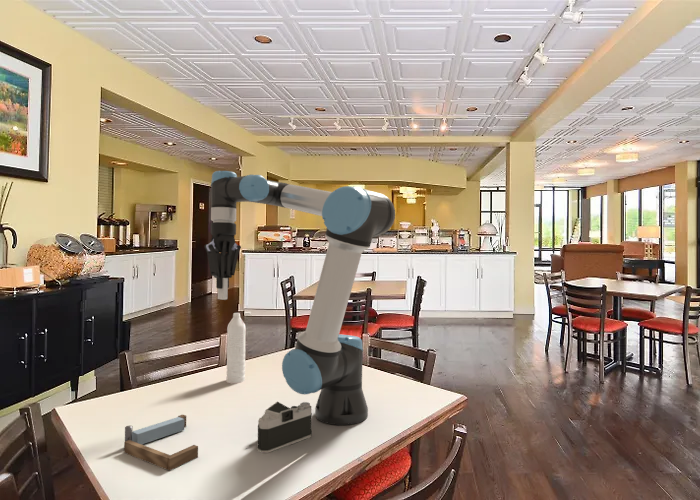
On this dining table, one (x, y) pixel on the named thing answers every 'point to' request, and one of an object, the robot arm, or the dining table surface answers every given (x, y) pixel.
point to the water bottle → (236, 349)
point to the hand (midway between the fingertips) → (222, 299)
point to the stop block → (184, 419)
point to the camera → (283, 426)
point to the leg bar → (158, 430)
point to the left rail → (182, 457)
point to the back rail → (146, 454)
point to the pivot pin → (128, 433)
